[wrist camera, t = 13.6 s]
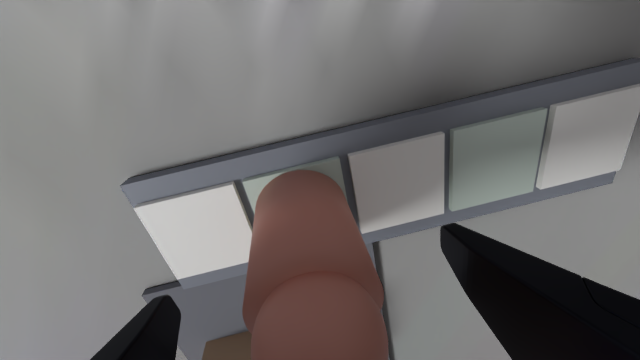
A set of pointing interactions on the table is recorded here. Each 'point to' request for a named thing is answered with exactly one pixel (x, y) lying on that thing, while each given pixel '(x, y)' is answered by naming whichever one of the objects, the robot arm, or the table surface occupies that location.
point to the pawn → (311, 276)
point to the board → (404, 167)
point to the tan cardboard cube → (229, 348)
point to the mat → (210, 310)
